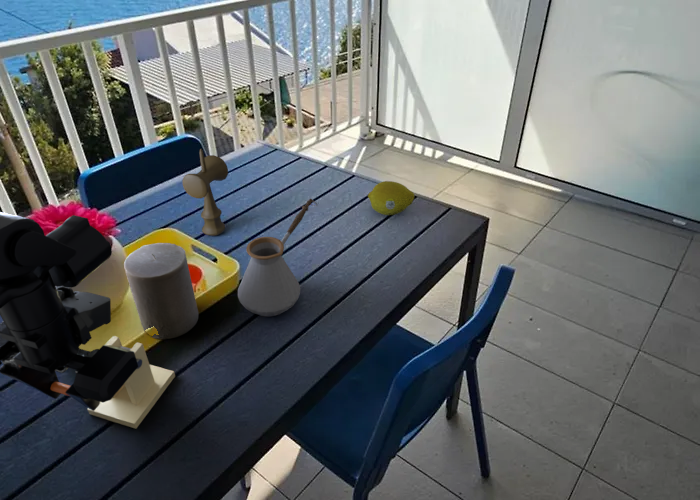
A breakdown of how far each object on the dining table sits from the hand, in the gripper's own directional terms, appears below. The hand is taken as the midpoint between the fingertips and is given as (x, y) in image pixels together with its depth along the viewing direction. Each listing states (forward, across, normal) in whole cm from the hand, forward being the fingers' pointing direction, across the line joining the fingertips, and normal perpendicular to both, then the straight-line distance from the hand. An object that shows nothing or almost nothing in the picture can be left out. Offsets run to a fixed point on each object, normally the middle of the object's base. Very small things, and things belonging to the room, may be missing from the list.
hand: (76, 401), depth 64 cm
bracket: (+9, 0, -8) cm, 12 cm away
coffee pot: (+9, -12, -39) cm, 42 cm away
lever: (+1, 0, -4) cm, 4 cm away
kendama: (+9, +11, -52) cm, 54 cm away
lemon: (+9, -25, -72) cm, 77 cm away
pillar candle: (+9, +4, -24) cm, 26 cm away
